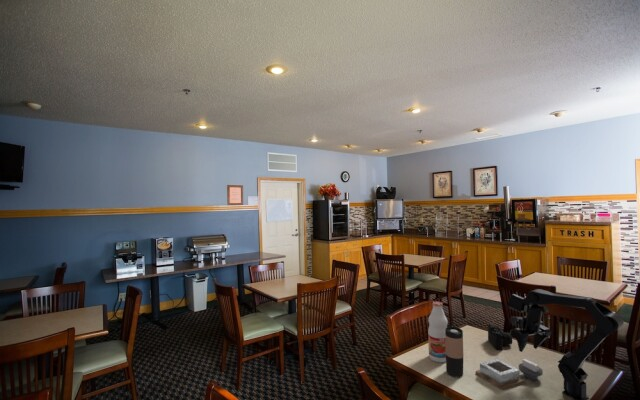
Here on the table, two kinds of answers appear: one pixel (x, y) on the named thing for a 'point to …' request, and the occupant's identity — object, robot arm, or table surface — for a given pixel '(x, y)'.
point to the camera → (498, 337)
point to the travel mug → (454, 351)
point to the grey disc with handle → (530, 370)
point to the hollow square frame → (502, 377)
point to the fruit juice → (437, 333)
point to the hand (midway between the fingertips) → (527, 349)
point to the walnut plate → (503, 386)
